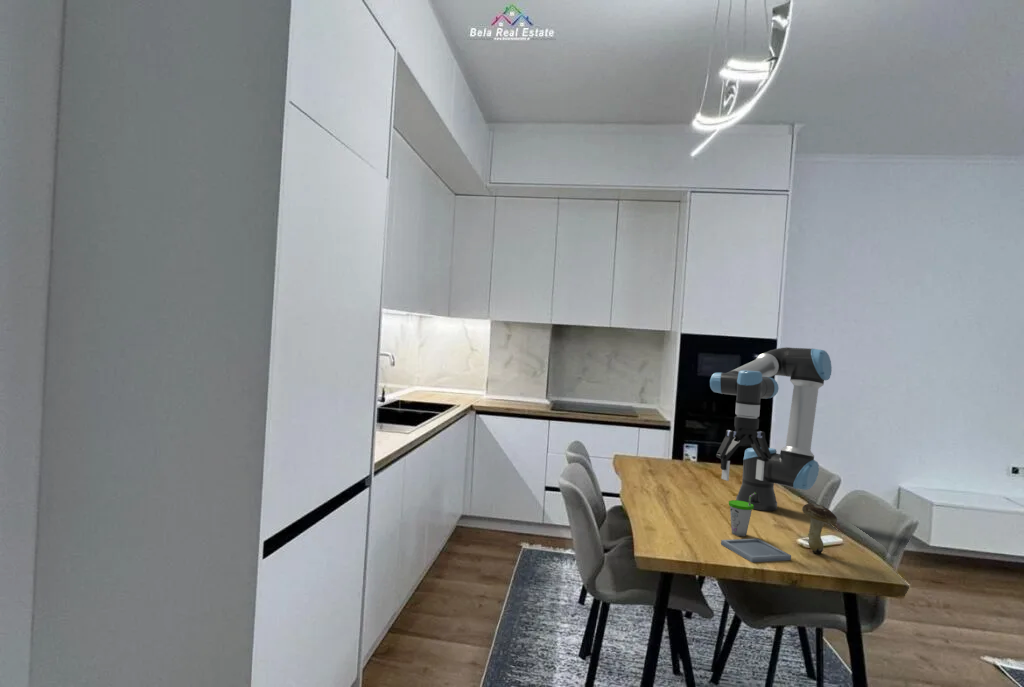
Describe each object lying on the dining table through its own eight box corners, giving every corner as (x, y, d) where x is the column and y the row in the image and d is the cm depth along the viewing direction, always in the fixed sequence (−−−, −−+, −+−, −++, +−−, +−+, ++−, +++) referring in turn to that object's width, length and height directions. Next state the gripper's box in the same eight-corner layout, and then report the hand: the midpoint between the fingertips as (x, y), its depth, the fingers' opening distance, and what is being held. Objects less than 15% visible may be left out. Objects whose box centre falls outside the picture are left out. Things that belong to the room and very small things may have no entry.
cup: (721, 531, 190) (724, 486, 190) (738, 529, 193) (741, 486, 193) (738, 539, 183) (742, 493, 183) (756, 537, 186) (760, 492, 186)
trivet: (758, 542, 181) (758, 538, 181) (790, 560, 167) (791, 555, 167) (720, 544, 177) (721, 539, 177) (751, 562, 163) (751, 557, 163)
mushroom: (793, 546, 179) (796, 500, 179) (818, 547, 180) (822, 501, 180) (811, 558, 170) (815, 509, 170) (838, 559, 170) (842, 510, 170)
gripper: (769, 416, 195) (765, 476, 195) (708, 413, 188) (703, 476, 188) (785, 419, 188) (781, 482, 188) (722, 417, 181) (717, 482, 181)
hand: (742, 479), depth 188 cm, fingers open, 13 cm apart
